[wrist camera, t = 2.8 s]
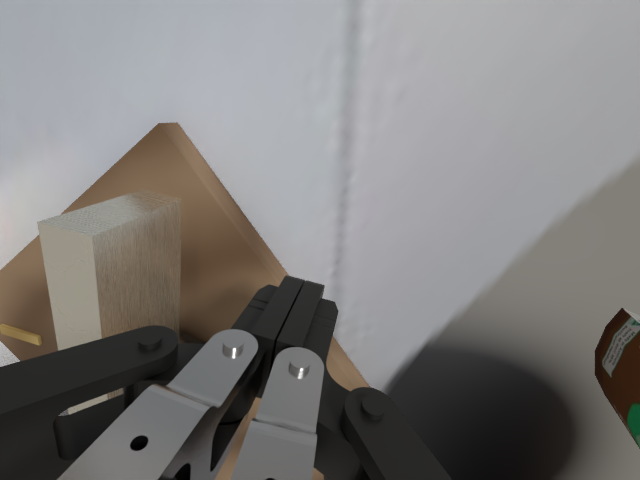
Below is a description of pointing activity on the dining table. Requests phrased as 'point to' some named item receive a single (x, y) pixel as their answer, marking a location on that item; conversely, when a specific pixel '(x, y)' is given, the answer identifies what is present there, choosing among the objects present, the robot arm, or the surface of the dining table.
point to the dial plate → (196, 259)
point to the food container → (621, 368)
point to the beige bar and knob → (114, 270)
